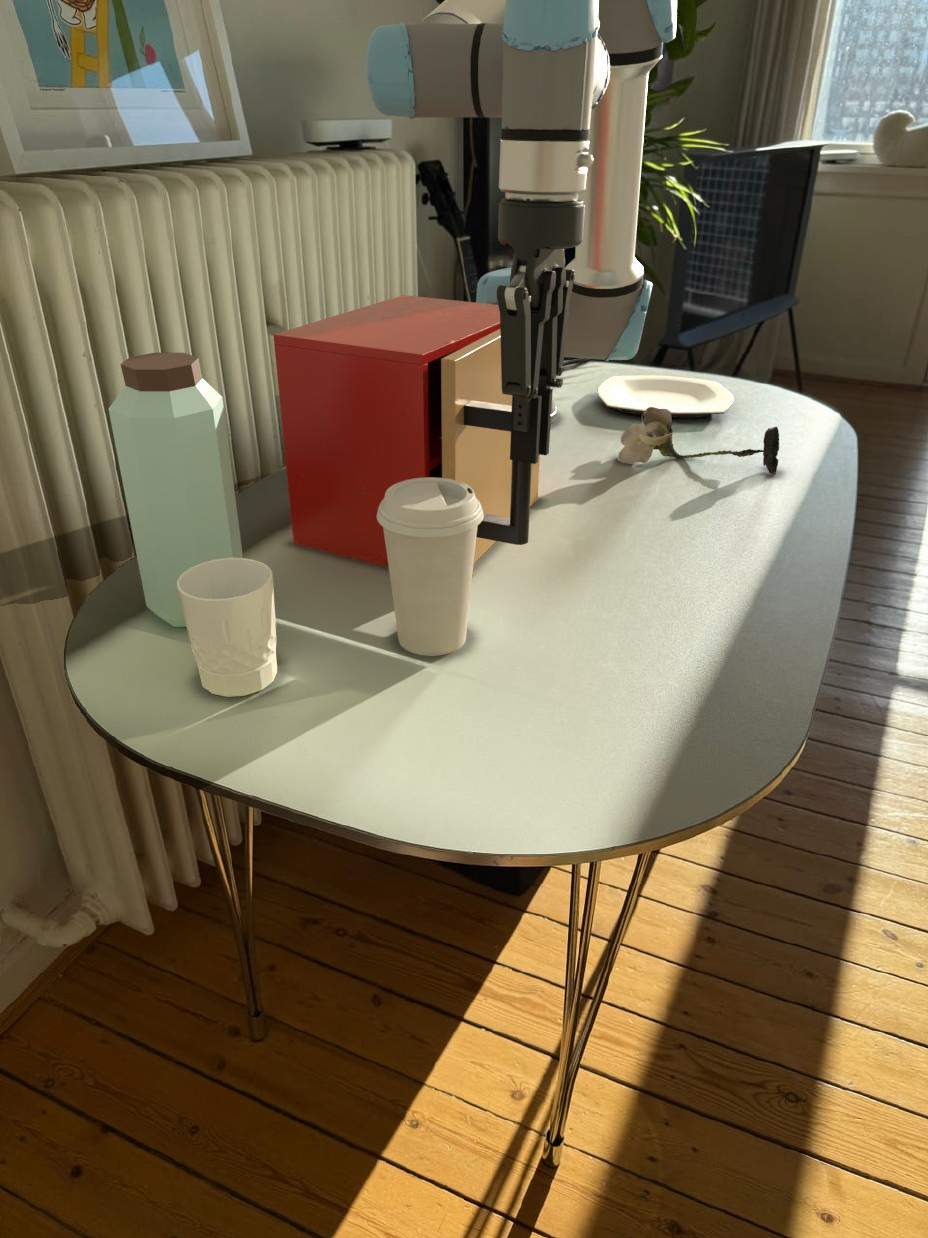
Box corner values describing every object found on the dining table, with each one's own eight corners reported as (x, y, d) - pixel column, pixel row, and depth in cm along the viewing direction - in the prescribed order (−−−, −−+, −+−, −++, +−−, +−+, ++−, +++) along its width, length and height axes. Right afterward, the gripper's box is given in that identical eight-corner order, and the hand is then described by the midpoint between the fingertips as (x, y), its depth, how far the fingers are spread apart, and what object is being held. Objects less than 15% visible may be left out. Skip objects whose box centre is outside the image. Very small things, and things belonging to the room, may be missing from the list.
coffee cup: (471, 670, 82) (472, 518, 74) (370, 659, 84) (361, 509, 76) (489, 619, 90) (492, 478, 83) (397, 610, 92) (392, 470, 84)
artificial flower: (773, 493, 123) (773, 430, 117) (614, 485, 133) (606, 426, 126) (783, 457, 129) (784, 394, 123) (629, 451, 139) (623, 394, 132)
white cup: (176, 677, 81) (158, 578, 76) (249, 644, 86) (237, 549, 81) (227, 713, 76) (211, 609, 71) (301, 675, 81) (291, 576, 76)
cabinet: (525, 498, 118) (533, 308, 106) (426, 577, 98) (422, 354, 86) (408, 474, 125) (403, 294, 113) (293, 544, 105) (273, 334, 93)
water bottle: (143, 595, 94) (96, 353, 82) (238, 578, 98) (207, 343, 85) (154, 640, 86) (104, 380, 74) (258, 620, 90) (227, 368, 77)
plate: (737, 428, 144) (739, 415, 143) (592, 419, 148) (593, 407, 147) (726, 389, 164) (728, 378, 163) (599, 382, 168) (600, 372, 167)
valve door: (589, 508, 115) (604, 316, 103) (515, 595, 94) (524, 368, 82) (527, 497, 118) (535, 310, 106) (442, 580, 97) (440, 358, 85)
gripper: (550, 204, 71) (535, 487, 82) (611, 192, 83) (590, 440, 94) (464, 200, 74) (461, 473, 85) (535, 189, 85) (524, 430, 97)
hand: (529, 456), depth 90 cm, fingers closed on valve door, 2 cm apart
